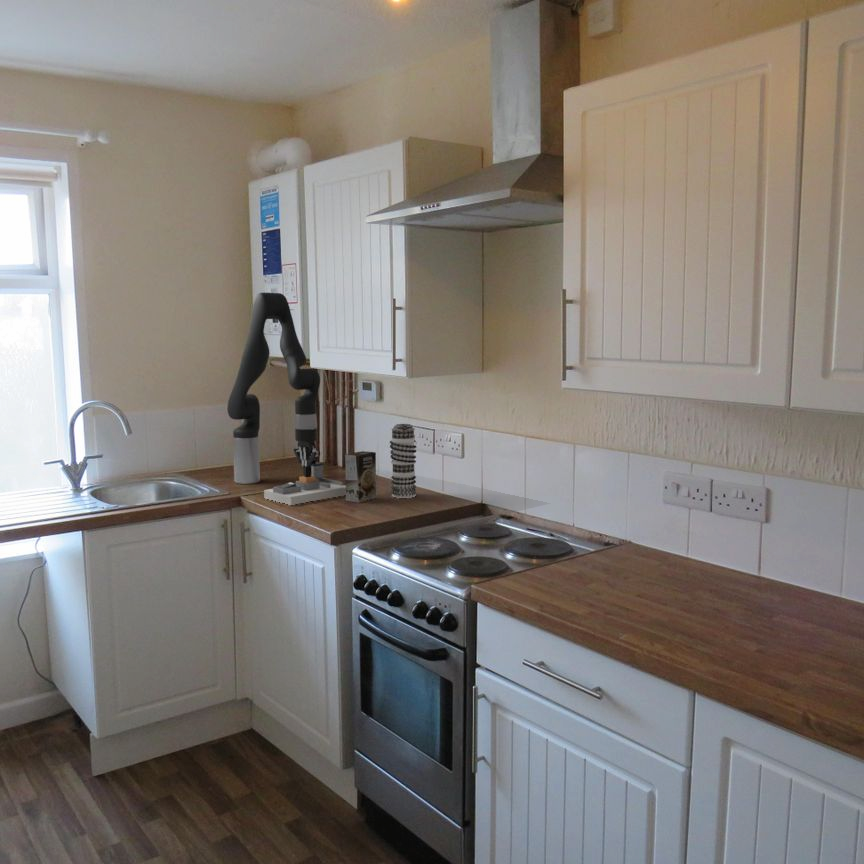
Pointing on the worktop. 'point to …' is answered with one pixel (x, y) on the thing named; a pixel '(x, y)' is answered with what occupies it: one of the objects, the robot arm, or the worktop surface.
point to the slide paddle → (317, 471)
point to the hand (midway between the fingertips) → (307, 476)
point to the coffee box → (360, 476)
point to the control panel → (306, 492)
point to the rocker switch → (287, 485)
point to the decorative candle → (403, 461)
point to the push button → (307, 479)
